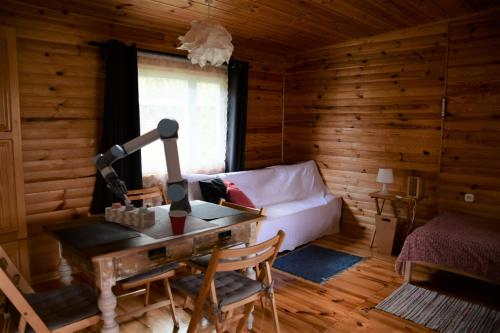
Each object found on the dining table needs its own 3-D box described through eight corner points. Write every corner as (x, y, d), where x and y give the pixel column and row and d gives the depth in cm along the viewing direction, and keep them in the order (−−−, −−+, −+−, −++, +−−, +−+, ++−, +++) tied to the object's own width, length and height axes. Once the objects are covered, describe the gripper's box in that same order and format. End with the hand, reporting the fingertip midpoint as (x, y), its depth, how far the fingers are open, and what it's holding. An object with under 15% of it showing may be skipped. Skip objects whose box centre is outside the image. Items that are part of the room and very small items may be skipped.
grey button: (123, 213, 231) (123, 205, 230) (130, 212, 235) (129, 204, 234) (129, 214, 228) (129, 206, 228) (135, 212, 233) (135, 205, 232)
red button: (110, 212, 237) (110, 204, 236) (117, 210, 241) (116, 202, 241) (116, 212, 234) (115, 205, 234) (122, 211, 239) (122, 203, 238)
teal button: (137, 216, 225) (137, 208, 224) (143, 214, 229) (143, 206, 228) (143, 217, 222) (143, 209, 222) (149, 215, 226) (149, 207, 226)
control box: (106, 220, 236) (105, 208, 235) (118, 217, 245) (118, 205, 244) (143, 227, 220) (142, 214, 219) (155, 223, 228) (154, 210, 227)
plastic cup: (177, 237, 199) (176, 215, 198) (164, 234, 206) (163, 213, 204) (192, 232, 208) (191, 211, 206) (179, 229, 214) (178, 209, 213)
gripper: (115, 177, 245) (134, 205, 238) (98, 180, 234) (117, 209, 227) (120, 170, 241) (139, 197, 235) (103, 172, 230) (123, 201, 224)
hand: (129, 203), depth 231 cm, fingers closed
